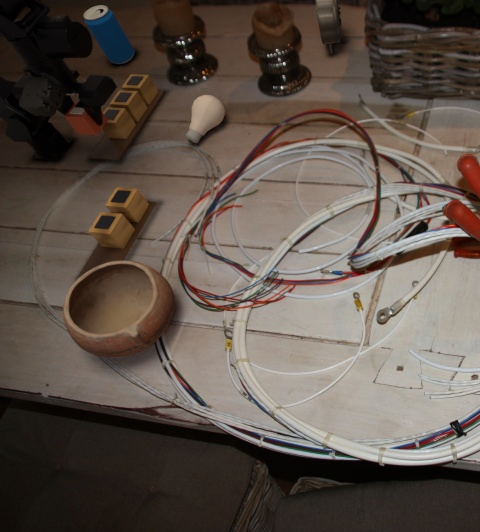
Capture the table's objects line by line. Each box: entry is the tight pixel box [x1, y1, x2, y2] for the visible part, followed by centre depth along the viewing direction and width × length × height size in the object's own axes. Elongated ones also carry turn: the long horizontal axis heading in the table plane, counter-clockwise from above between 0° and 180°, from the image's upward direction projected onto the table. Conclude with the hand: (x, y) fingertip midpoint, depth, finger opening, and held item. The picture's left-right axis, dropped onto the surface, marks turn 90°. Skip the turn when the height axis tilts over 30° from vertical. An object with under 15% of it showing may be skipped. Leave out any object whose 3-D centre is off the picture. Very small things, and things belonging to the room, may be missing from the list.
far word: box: [89, 73, 166, 163], centre depth 117 cm, size 7×22×5 cm, turn 168°
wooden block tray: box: [77, 186, 158, 278], centre depth 98 cm, size 7×18×5 cm, turn 168°
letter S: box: [63, 100, 108, 136], centre depth 107 cm, size 4×4×5 cm
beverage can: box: [83, 4, 136, 65], centre depth 129 cm, size 6×6×12 cm
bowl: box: [62, 259, 175, 358], centre depth 85 cm, size 16×16×10 cm
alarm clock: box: [314, 0, 346, 55], centre depth 121 cm, size 11×5×16 cm, turn 6°
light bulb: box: [185, 94, 226, 144], centre depth 113 cm, size 7×7×11 cm
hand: (90, 123), depth 108 cm, fingers closed on letter S, 4 cm apart
